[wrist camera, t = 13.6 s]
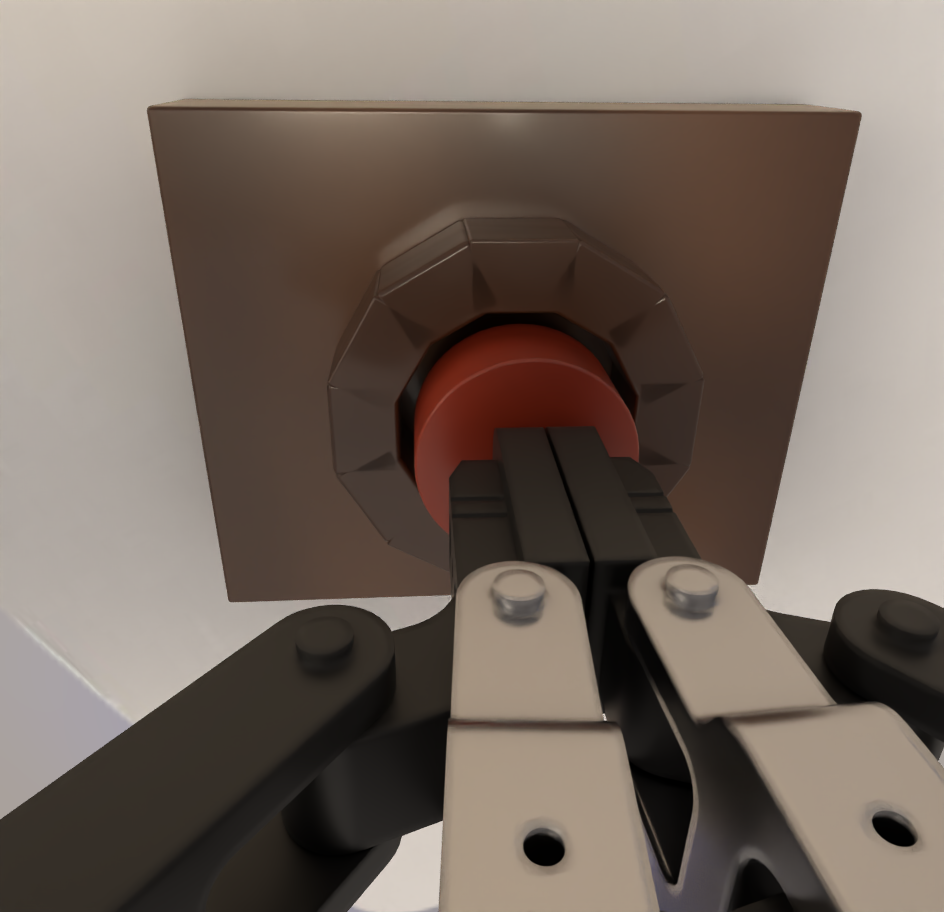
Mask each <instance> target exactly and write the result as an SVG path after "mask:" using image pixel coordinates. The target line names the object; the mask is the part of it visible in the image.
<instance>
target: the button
mask: <svg viewBox="0 0 944 912" xmlns="http://www.w3.org/2000/svg"><path fill="white" fill-rule="evenodd" d="M568 426H594V427H595V428H596V430H597V432H598V434H599V436H600V438H601V440H602V442H603V444H604V446H605V448H606V450H607V452H608V454H609V456H610V457H631V458H632V459H634V460H635V461H636V462H639V442H638V434H637V430H636V426H635V423H634V420H633V418H632V416H631V413H630V411H629V409H628V408H627V406H626V404H625V403H624V401H623V399H622V398H621V396H620V394H619V393H618V391H617V389H616V388H615V386H614V385H613V383H612V381H611V380H610V378H609V376H608V375H607V373H606V371H605V370H604V368H603V367H602V365H601V363H600V362H599V361H598V359H597V358H596V357H595V356H594V355H593V353H592V352H591V351H590V350H588V349H587V348H586V347H585V346H584V345H583V344H582V343H580V342H579V341H577V340H576V339H574V338H573V337H571V336H569V335H567V334H565V333H563V332H561V331H558V330H555V329H552V328H549V327H545V326H540V325H534V324H507V325H501V326H496V327H491V328H488V329H485V330H482V331H479V332H477V333H475V334H473V335H471V336H469V337H467V338H465V339H463V340H462V341H460V342H459V343H457V344H456V345H454V346H453V347H452V348H450V349H449V350H448V351H447V352H446V353H445V354H443V356H442V357H441V358H440V359H439V360H438V361H437V362H436V363H435V364H434V366H433V367H432V369H431V370H430V372H429V373H428V374H427V376H426V378H425V380H424V382H423V384H422V386H421V389H420V391H419V394H418V397H417V401H416V407H415V414H414V469H415V479H416V483H417V487H418V491H419V494H420V496H421V499H422V501H423V504H424V505H425V507H426V509H427V510H428V512H429V514H430V515H431V516H432V518H433V519H434V520H435V521H436V523H437V524H438V525H439V526H440V527H441V528H442V529H443V530H444V531H445V532H447V533H448V534H449V477H450V476H451V474H452V473H453V471H454V470H455V469H456V467H457V466H458V465H459V463H460V462H461V461H462V460H492V459H493V435H494V429H495V428H520V427H543V428H544V429H545V428H546V427H568Z"/></svg>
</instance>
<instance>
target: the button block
mask: <svg viewBox="0 0 944 912" xmlns="http://www.w3.org/2000/svg"><path fill="white" fill-rule="evenodd" d="M147 114H148V120H149V126H150V133H151V139H152V145H153V151H154V157H155V163H156V169H157V175H158V181H159V187H160V193H161V199H162V205H163V211H164V217H165V223H166V229H167V235H168V241H169V247H170V253H171V259H172V265H173V271H174V277H175V283H176V289H177V295H178V301H179V307H180V313H181V319H182V325H183V331H184V337H185V343H186V349H187V355H188V361H189V367H190V373H191V379H192V385H193V391H194V397H195V403H196V409H197V415H198V421H199V427H200V433H201V439H202V445H203V451H204V457H205V463H206V469H207V475H208V481H209V487H210V493H211V499H212V505H213V511H214V517H215V523H216V529H217V535H218V541H219V547H220V553H221V559H222V565H223V571H224V577H225V583H226V589H227V595H228V600H229V602H255V601H285V600H315V599H345V598H375V597H404V596H434V595H451V582H450V567H449V534H448V533H447V532H445V531H444V530H443V529H442V528H441V527H440V526H439V525H438V524H437V523H436V521H435V520H434V519H433V518H432V516H431V515H430V514H429V512H428V510H427V509H426V507H425V505H424V504H423V501H422V499H421V496H420V494H419V491H418V487H417V483H416V479H415V469H414V414H415V407H416V401H417V397H418V394H419V391H420V389H421V386H422V384H423V382H424V380H425V378H426V376H427V374H428V373H429V372H430V370H431V369H432V367H433V366H434V364H435V363H436V362H437V361H438V360H439V359H440V358H441V357H442V356H443V354H445V353H446V352H447V351H448V350H449V349H450V348H452V347H453V346H454V345H456V344H457V343H459V342H460V341H462V340H463V339H465V338H467V337H469V336H471V335H473V334H475V333H477V332H479V331H482V330H485V329H488V328H491V327H496V326H501V325H507V324H534V325H540V326H545V327H549V328H552V329H555V330H558V331H561V332H563V333H565V334H567V335H569V336H571V337H573V338H574V339H576V340H577V341H579V342H580V343H582V344H583V345H584V346H585V347H586V348H587V349H588V350H590V351H591V352H592V353H593V355H594V356H595V357H596V358H597V359H598V361H599V362H600V363H601V365H602V367H603V368H604V370H605V371H606V373H607V375H608V376H609V378H610V380H611V381H612V383H613V385H614V386H615V388H616V389H617V391H618V393H619V394H620V396H621V398H622V399H623V401H624V403H625V404H626V406H627V408H628V409H629V411H630V413H631V416H632V418H633V420H634V423H635V426H636V430H637V434H638V442H639V462H638V463H639V464H641V465H642V466H644V467H645V468H646V469H648V470H649V471H651V472H652V473H653V474H654V476H655V478H656V480H657V481H658V483H659V485H660V487H661V488H662V490H663V492H664V496H666V497H667V499H668V501H669V502H670V504H671V506H672V508H673V512H675V513H676V515H677V517H678V518H679V520H680V522H681V524H682V525H683V527H684V529H685V531H686V532H687V534H688V536H689V538H690V539H691V541H692V543H693V545H694V547H695V548H696V550H697V552H698V554H699V555H700V557H701V559H702V560H704V561H708V562H711V563H714V564H716V565H719V566H721V567H723V568H725V569H727V570H729V571H731V572H732V573H734V574H735V575H737V576H738V577H739V578H740V579H741V580H743V581H744V582H745V584H746V585H756V584H757V583H758V580H759V576H760V571H761V567H762V562H763V558H764V553H765V549H766V544H767V540H768V535H769V531H770V526H771V522H772V517H773V513H774V508H775V504H776V499H777V495H778V490H779V486H780V481H781V477H782V472H783V468H784V463H785V459H786V454H787V450H788V445H789V441H790V436H791V432H792V427H793V423H794V418H795V414H796V409H797V405H798V400H799V396H800V391H801V387H802V382H803V378H804V373H805V369H806V364H807V360H808V355H809V351H810V346H811V342H812V337H813V333H814V328H815V324H816V319H817V315H818V310H819V306H820V301H821V297H822V292H823V288H824V283H825V279H826V274H827V270H828V265H829V261H830V256H831V252H832V247H833V243H834V238H835V234H836V229H837V225H838V220H839V216H840V211H841V207H842V202H843V198H844V193H845V189H846V184H847V180H848V175H849V171H850V166H851V162H852V157H853V153H854V148H855V144H856V139H857V135H858V130H859V126H860V121H861V117H862V115H861V113H860V112H859V111H852V110H845V109H837V108H829V107H822V106H814V105H806V104H709V103H589V102H469V101H349V100H229V99H182V100H177V101H172V102H167V103H162V104H157V105H152V106H149V107H148V108H147Z"/></svg>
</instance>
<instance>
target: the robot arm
mask: <svg viewBox="0 0 944 912" xmlns="http://www.w3.org/2000/svg"><path fill="white" fill-rule="evenodd" d="M449 567H450V582H451V597H452V600H451V601H450V602H449V604H448V605H447V606H446V607H445V608H444V609H443V610H441V611H440V612H439V613H438V614H436V615H434V616H433V617H431V618H430V619H427V620H425V621H423V622H421V623H418V624H415V625H412V626H409V627H406V628H402V629H398V630H395V631H391V629H390V628H389V627H388V625H387V624H386V623H385V622H384V621H383V620H382V619H381V618H380V617H378V616H377V615H375V614H373V613H371V612H369V611H367V610H364V609H361V608H357V607H353V606H346V605H325V606H317V607H312V608H308V609H305V610H301V611H298V612H296V613H294V614H291V615H289V616H287V617H285V618H284V619H282V620H280V621H279V622H277V623H276V624H274V625H273V626H272V627H270V628H269V629H267V630H266V631H265V632H263V633H262V634H260V635H259V636H258V637H256V638H255V639H253V640H252V641H251V642H249V643H248V644H246V645H245V646H244V647H242V648H241V649H239V650H238V651H236V652H235V653H234V654H232V655H231V656H229V657H228V658H227V659H225V660H224V661H222V662H221V663H220V664H218V665H217V666H215V667H214V668H213V669H211V670H210V671H208V672H207V673H206V674H204V675H203V676H201V677H200V678H199V679H197V680H196V681H194V682H193V683H191V684H190V685H189V686H187V687H186V688H184V689H183V690H182V691H180V692H179V693H177V694H176V695H175V696H173V697H172V698H170V699H169V700H168V701H166V702H165V703H163V704H162V705H161V706H159V707H158V708H156V709H155V710H154V711H152V712H151V713H149V714H148V715H147V716H145V717H144V718H142V719H141V720H139V721H138V722H137V723H135V724H134V725H132V726H131V727H130V728H128V729H127V730H125V731H124V732H123V733H121V734H120V735H118V736H117V737H116V738H114V739H113V740H111V741H110V742H109V743H107V744H106V745H104V746H103V747H102V748H100V749H99V750H97V751H96V752H94V753H93V754H92V755H90V756H89V757H87V758H86V759H85V760H83V761H82V762H80V763H79V764H78V765H76V766H75V767H74V768H72V769H71V770H69V771H68V772H66V773H65V774H64V775H62V776H61V777H59V778H58V779H57V780H55V781H54V782H52V783H51V784H50V785H48V786H47V787H45V788H44V789H43V790H41V791H40V792H38V793H37V794H36V795H34V796H33V797H31V798H30V799H28V800H27V801H26V802H24V803H23V804H21V805H20V806H19V807H17V808H16V809H14V810H13V811H12V812H10V813H9V814H7V815H6V816H5V817H3V818H2V819H0V912H347V911H348V910H349V909H350V908H351V907H352V905H353V904H354V903H355V902H356V901H357V900H358V898H359V897H360V896H361V895H362V894H363V892H364V891H365V890H366V889H367V888H368V887H369V885H370V884H371V883H372V882H373V881H374V879H375V878H376V877H377V876H378V875H379V874H380V872H381V871H382V870H383V869H384V868H385V866H386V865H387V864H388V863H389V862H390V860H391V859H392V857H393V856H394V855H395V853H396V851H397V849H398V847H399V845H400V841H401V837H402V836H403V835H405V834H408V833H411V832H413V831H416V830H419V829H421V828H424V827H427V826H429V825H432V824H435V823H438V822H440V821H443V831H442V851H441V872H440V892H439V912H944V768H943V766H942V765H941V764H940V763H939V762H938V760H939V758H940V755H941V753H942V750H943V748H944V608H942V607H940V606H938V605H935V604H933V603H931V602H928V601H926V600H923V599H921V598H918V597H915V596H912V595H909V594H905V593H900V592H896V591H889V590H878V589H870V590H860V591H855V592H852V593H850V594H847V595H845V596H844V597H842V598H841V599H840V600H839V601H838V602H837V604H836V606H835V609H834V613H833V616H832V620H831V622H827V621H821V620H815V619H810V618H804V617H798V616H793V615H787V614H782V613H777V612H773V611H769V610H766V609H765V608H764V607H763V606H762V604H761V603H760V602H759V600H758V599H757V597H756V596H755V595H754V593H753V592H752V591H751V589H750V588H749V587H748V586H747V585H746V584H745V582H744V581H743V580H741V579H740V578H739V577H738V576H737V575H735V574H734V573H732V572H731V571H729V570H727V569H725V568H723V567H721V566H719V565H716V564H714V563H711V562H708V561H704V560H702V559H701V557H700V555H699V554H698V552H697V550H696V548H695V547H694V545H693V543H692V541H691V539H690V538H689V536H688V534H687V532H686V531H685V529H684V527H683V525H682V524H681V522H680V520H679V518H678V517H677V515H676V513H675V512H673V508H672V506H671V504H670V502H669V501H668V499H667V497H666V496H664V492H663V490H662V488H661V487H660V485H659V483H658V481H657V480H656V478H655V476H654V474H653V473H652V472H651V471H649V470H648V469H646V468H645V467H644V466H642V465H641V464H639V463H638V462H636V461H635V460H634V459H632V458H631V457H610V456H609V454H608V452H607V450H606V448H605V446H604V444H603V442H602V440H601V438H600V436H599V434H598V432H597V430H596V428H595V427H594V426H568V427H546V428H545V429H544V428H543V427H520V428H495V429H494V435H493V459H492V460H462V461H461V462H460V463H459V465H458V466H457V467H456V469H455V470H454V471H453V473H452V474H451V476H450V477H449ZM603 713H605V715H606V719H607V721H604V719H603Z"/></svg>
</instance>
